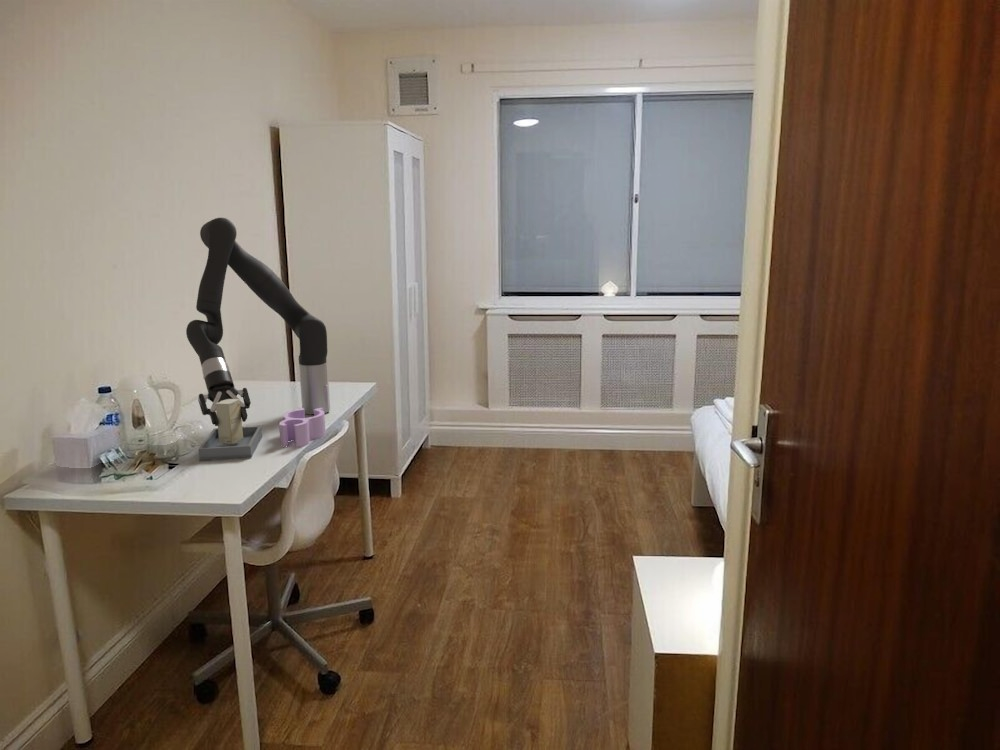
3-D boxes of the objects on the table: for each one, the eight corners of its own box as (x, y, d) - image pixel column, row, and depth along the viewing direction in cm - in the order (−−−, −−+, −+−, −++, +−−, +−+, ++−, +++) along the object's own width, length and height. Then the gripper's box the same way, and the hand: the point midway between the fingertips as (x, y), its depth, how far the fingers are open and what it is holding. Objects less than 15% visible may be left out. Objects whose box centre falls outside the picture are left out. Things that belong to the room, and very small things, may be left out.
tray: (262, 436, 224) (261, 426, 223) (251, 457, 205) (250, 446, 204) (215, 439, 222) (213, 428, 221) (199, 461, 203) (198, 449, 202)
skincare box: (232, 444, 210) (228, 404, 207) (218, 443, 210) (214, 403, 208) (244, 438, 216) (240, 398, 213) (230, 437, 216) (226, 397, 214)
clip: (311, 448, 213) (310, 425, 212) (270, 447, 214) (268, 425, 213) (331, 428, 233) (330, 407, 231) (293, 428, 234) (292, 407, 232)
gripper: (193, 372, 210) (206, 419, 204) (243, 366, 218) (257, 411, 212) (191, 386, 216) (204, 433, 209) (240, 379, 224) (254, 424, 217)
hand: (231, 422), depth 210 cm, fingers closed on skincare box, 7 cm apart
